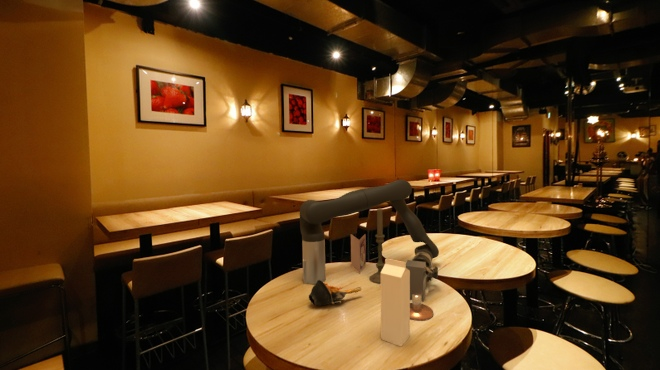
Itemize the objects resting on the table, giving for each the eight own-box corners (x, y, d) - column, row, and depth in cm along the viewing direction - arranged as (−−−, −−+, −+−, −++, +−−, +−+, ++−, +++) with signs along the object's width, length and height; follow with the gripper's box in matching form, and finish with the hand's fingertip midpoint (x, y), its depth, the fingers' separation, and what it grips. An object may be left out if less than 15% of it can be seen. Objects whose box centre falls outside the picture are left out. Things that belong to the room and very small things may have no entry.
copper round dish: (407, 321, 91) (407, 303, 90) (396, 306, 101) (396, 289, 100) (438, 319, 92) (439, 301, 91) (425, 303, 102) (425, 287, 101)
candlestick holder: (394, 277, 125) (394, 206, 122) (386, 285, 117) (386, 210, 115) (374, 273, 130) (373, 205, 127) (365, 281, 122) (364, 208, 120)
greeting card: (361, 273, 130) (361, 240, 129) (345, 272, 132) (344, 238, 131) (367, 265, 141) (367, 233, 139) (352, 263, 143) (351, 232, 142)
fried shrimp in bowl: (301, 288, 105) (341, 263, 114) (316, 317, 104) (355, 289, 112) (309, 288, 97) (351, 261, 106) (325, 320, 96) (367, 289, 104)
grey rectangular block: (404, 298, 106) (404, 265, 105) (407, 291, 112) (407, 260, 111) (423, 301, 103) (423, 267, 102) (425, 294, 109) (425, 262, 108)
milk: (390, 329, 87) (389, 255, 85) (410, 336, 83) (410, 259, 82) (380, 339, 82) (379, 261, 80) (401, 347, 78) (401, 265, 77)
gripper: (404, 252, 126) (396, 264, 111) (440, 256, 120) (436, 269, 105) (404, 269, 126) (396, 284, 111) (439, 274, 120) (436, 290, 106)
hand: (415, 277), depth 108 cm, fingers open, 8 cm apart
